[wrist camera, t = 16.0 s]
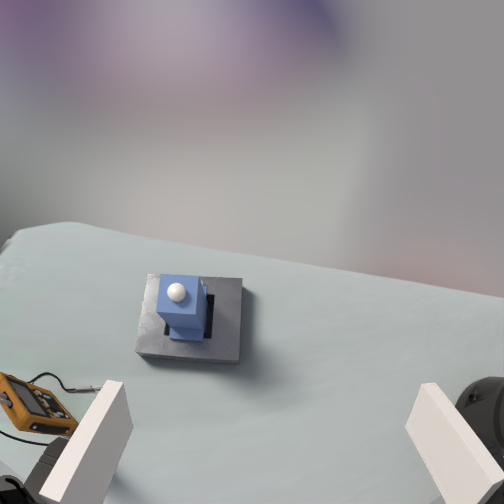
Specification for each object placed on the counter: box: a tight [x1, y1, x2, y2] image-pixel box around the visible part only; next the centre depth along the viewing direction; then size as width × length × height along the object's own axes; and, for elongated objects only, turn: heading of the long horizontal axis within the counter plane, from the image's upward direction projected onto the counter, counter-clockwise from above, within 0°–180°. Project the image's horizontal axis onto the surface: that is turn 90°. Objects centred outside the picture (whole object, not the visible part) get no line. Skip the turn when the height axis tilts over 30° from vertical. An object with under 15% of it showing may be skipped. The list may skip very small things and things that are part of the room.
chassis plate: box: [135, 274, 242, 364], centre depth 43 cm, size 14×12×3 cm
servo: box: [156, 274, 208, 341], centre depth 39 cm, size 4×8×12 cm, turn 179°
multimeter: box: [0, 372, 102, 446], centre depth 29 cm, size 15×10×20 cm
